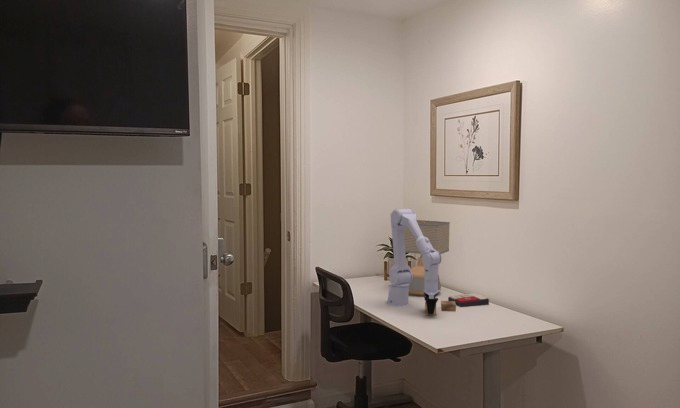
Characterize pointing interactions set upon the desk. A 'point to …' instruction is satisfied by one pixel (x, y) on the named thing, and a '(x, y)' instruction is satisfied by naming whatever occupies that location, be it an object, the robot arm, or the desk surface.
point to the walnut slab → (448, 306)
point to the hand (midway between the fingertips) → (430, 311)
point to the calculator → (469, 300)
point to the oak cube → (427, 310)
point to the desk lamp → (439, 242)
